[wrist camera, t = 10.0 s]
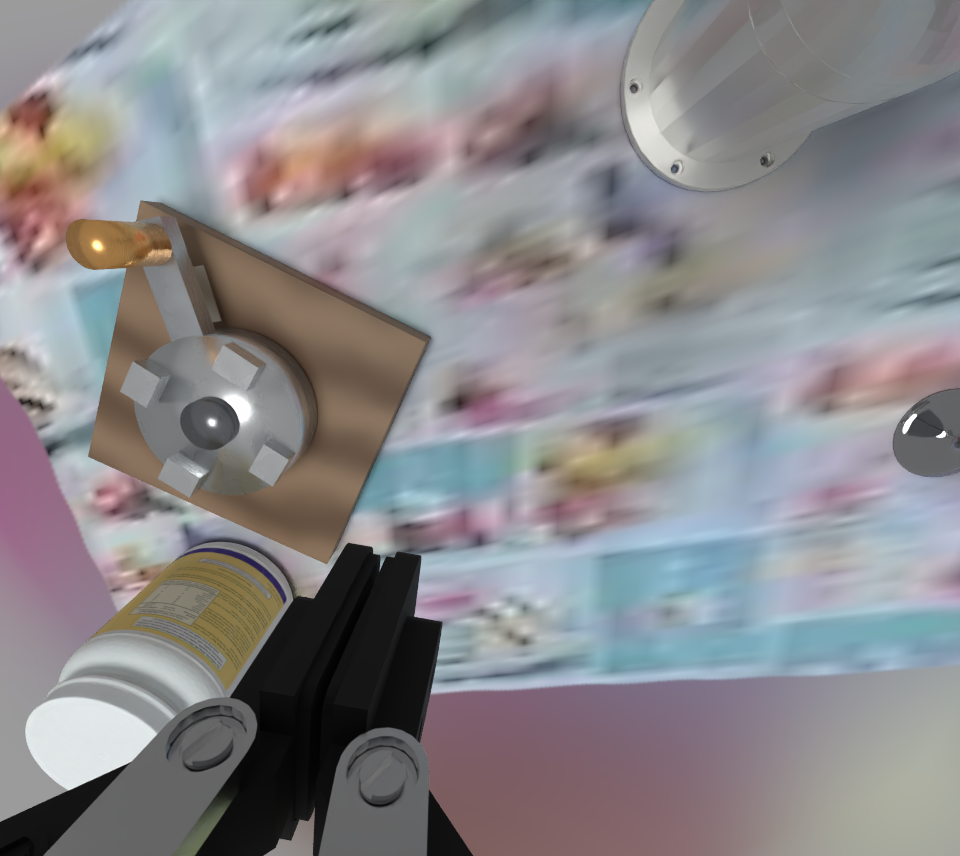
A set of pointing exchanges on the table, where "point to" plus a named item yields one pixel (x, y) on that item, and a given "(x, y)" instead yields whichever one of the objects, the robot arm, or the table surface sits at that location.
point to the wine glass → (930, 436)
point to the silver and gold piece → (202, 372)
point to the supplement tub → (158, 660)
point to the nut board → (315, 347)
